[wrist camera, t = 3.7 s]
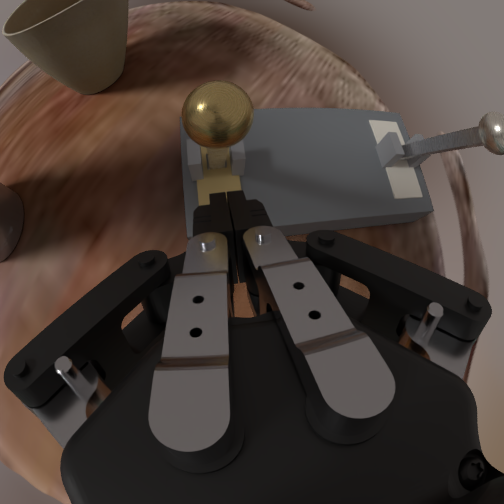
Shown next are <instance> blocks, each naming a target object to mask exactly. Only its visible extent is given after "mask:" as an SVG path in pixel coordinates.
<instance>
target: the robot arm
mask: <svg viewBox="0 0 504 504" xmlns="http://www.w3.org/2000/svg"><path fill="white" fill-rule="evenodd" d="M209 200H210V204H208V205H200V206H198V207H197V208H196V209H195V210H194V211H193V237H192V238H191V239H190V240H189V242H188V244H187V250H186V252H184V253H183V254H181V255H178V256H176V257H173V258H170V259H168V258H167V255H166V254H165V253H164V252H162V251H158V250H149V251H145V252H142V253H139V254H138V255H136V256H134V257H133V258H132V259H130V260H129V261H128V262H126V263H125V264H124V265H122V266H121V267H120V268H119V269H117V270H116V271H115V272H113V273H112V274H111V275H110V276H108V277H107V278H106V279H104V280H103V281H102V282H101V283H99V284H98V285H97V286H96V287H94V288H93V289H92V290H91V291H89V292H88V293H87V294H86V295H84V296H83V297H82V298H81V299H79V300H78V301H77V302H76V303H75V304H73V305H72V306H71V307H70V308H69V309H67V310H66V311H65V312H64V313H63V314H61V315H60V316H59V317H58V318H57V319H55V320H54V321H53V322H52V323H51V324H50V325H49V326H47V327H46V328H45V329H44V330H43V331H42V332H40V333H39V334H38V335H37V336H36V337H35V338H34V339H33V340H31V341H30V342H29V343H28V344H27V345H26V346H25V347H24V348H23V349H22V350H20V351H19V352H18V353H17V354H16V355H15V356H14V357H13V358H12V359H11V360H10V361H9V363H8V364H7V366H6V368H5V372H4V382H5V384H6V386H7V387H8V388H9V389H10V390H11V391H12V392H13V393H14V394H15V395H16V396H17V397H18V398H19V399H20V400H21V402H22V403H23V404H24V405H25V406H26V407H27V408H28V409H29V410H30V411H31V412H32V413H33V414H35V415H36V416H37V417H38V418H39V419H40V420H41V422H42V423H43V424H44V426H45V427H46V428H47V429H48V431H49V432H50V433H51V434H52V436H53V437H54V438H55V439H56V440H57V442H58V443H59V444H60V445H61V446H62V448H63V449H64V450H63V453H62V457H61V465H60V470H61V478H62V482H63V485H64V487H65V490H66V492H67V494H68V496H69V499H70V501H71V503H72V504H504V473H502V472H500V471H498V470H497V469H495V468H494V467H493V466H491V465H490V464H489V462H488V461H487V460H486V459H485V457H484V455H483V453H482V450H481V446H480V441H479V435H478V426H477V406H476V402H475V398H474V396H473V393H472V392H471V390H470V388H469V387H468V385H467V384H466V383H465V382H464V381H463V380H462V379H463V376H464V373H465V369H466V366H467V363H468V359H469V356H470V352H471V348H472V346H473V344H474V343H475V341H476V340H477V338H478V336H479V335H480V333H481V332H482V330H483V328H484V327H485V325H486V324H487V322H488V320H489V318H490V317H491V314H492V309H491V306H490V304H489V302H488V301H487V299H486V298H485V297H483V296H482V295H481V294H479V293H478V292H476V291H473V290H471V289H469V288H467V287H465V286H463V285H460V284H458V283H456V282H454V281H452V280H449V279H447V278H445V277H443V276H441V275H438V274H436V273H434V272H432V271H429V270H427V269H425V268H423V267H420V266H418V265H416V264H413V263H411V262H409V261H406V260H404V259H402V258H399V257H397V256H394V255H392V254H390V253H387V252H385V251H382V250H380V249H377V248H375V247H373V246H370V245H368V244H365V243H363V242H360V241H358V240H355V239H353V238H350V237H347V236H345V235H342V234H340V233H337V232H334V231H330V230H317V231H313V232H311V233H310V234H309V235H308V236H307V238H306V242H299V241H291V240H287V239H286V238H285V237H284V235H283V233H282V232H281V231H280V230H279V229H277V228H274V227H273V225H272V223H271V221H270V218H269V216H268V215H267V212H266V210H265V207H264V205H263V203H261V202H260V201H258V200H257V199H252V200H246V197H245V194H244V192H243V190H236V191H227V198H226V193H225V192H219V193H211V194H209ZM23 219H24V209H23V204H22V201H21V199H20V197H19V196H18V194H17V193H15V192H14V191H12V190H11V189H9V188H8V187H6V186H5V185H3V184H2V183H0V262H1V261H3V260H4V259H6V258H7V257H8V256H9V255H10V254H11V252H12V251H13V249H14V248H15V246H16V244H17V242H18V240H19V237H20V234H21V231H22V227H23ZM236 266H237V267H236ZM237 271H238V276H239V281H240V283H243V282H246V285H247V296H248V300H249V303H250V306H251V309H252V312H253V315H254V317H252V318H240V317H235V311H234V296H233V293H234V284H236V283H238V277H237ZM341 274H343V275H345V276H347V277H349V278H351V279H354V280H356V281H358V282H360V283H362V284H364V285H365V286H366V287H367V288H368V289H369V291H370V298H369V299H367V298H365V297H363V296H361V295H359V294H357V293H355V292H353V291H351V290H348V289H346V288H344V287H342V286H340V285H339V284H340V279H341ZM140 302H141V304H142V306H143V309H144V310H143V311H142V312H141V313H140V314H139V315H138V316H137V317H136V318H134V319H133V320H132V321H131V322H130V323H129V324H128V325H127V326H126V327H125V328H124V329H123V330H122V329H121V324H122V321H123V319H124V317H125V316H126V315H127V314H128V313H129V312H130V311H131V310H133V309H134V308H135V307H136V306H137V305H138V304H139V303H140Z"/></svg>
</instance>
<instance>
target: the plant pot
mask: <svg viewBox="0 0 504 504" xmlns="http://www.w3.org/2000/svg"><path fill="white" fill-rule="evenodd" d="M127 30H128V0H25V1H24V2H23V3H22V4H21V5H19V7H17V9H16V10H15V11H14V12H13V13H12V14H11V15H10V16H9V18H8V19H7V21H6V22H5V24H4V26H3V29H2V33H3V35H4V36H5V37H6V38H7V39H8V40H9V41H10V42H11V43H12V44H13V45H14V46H15V47H16V48H17V49H18V50H19V51H20V52H22V53H23V54H24V55H25V56H26V57H27V58H28V59H29V60H30V61H32V62H33V63H34V64H35V65H36V66H38V67H39V68H40V69H42V70H43V71H44V72H46V73H47V74H48V75H50V76H51V77H53V78H54V79H56V80H57V81H59V82H61V83H62V84H64V85H66V86H67V87H69V88H71V89H73V90H75V91H76V92H79V93H81V94H85V95H89V94H94V93H97V92H100V91H102V90H104V89H106V88H107V87H109V86H110V85H112V84H113V83H114V82H115V81H116V80H117V79H118V78H119V76H120V75H121V73H122V71H123V68H124V61H125V53H126V44H127Z"/></svg>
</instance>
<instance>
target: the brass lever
mask: <svg viewBox="0 0 504 504" xmlns="http://www.w3.org/2000/svg"><path fill="white" fill-rule="evenodd" d="M253 120H254V108H253V104H252V101H251V99H250V97H249V96H248V94H247V93H246V92H245V91H244V90H243V89H242V88H241V87H239V86H238V85H236V84H234V83H231V82H228V81H221V80H217V81H210V82H206V83H204V84H202V85H200V86H198V87H197V88H195V89H194V90H193V91H192V92H191V93H190V94H189V95H188V97H187V98H186V100H185V102H184V105H183V108H182V124H183V127H184V129H185V132H186V133H187V135H188V136H189V137H190V138H191V139H192V140H193V141H194V142H195V143H197V144H198V145H200V146H202V147H205V148H207V152H208V153H206V160H207V169H208V170H211V169H219V168H227V162H226V157H227V152H228V148H229V147H231V146H234V145H236V144H237V143H239V142H240V141H241V140H243V138H244V137H245V136H246V135H247V134H248V133H249V131H250V129H251V127H252V124H253Z"/></svg>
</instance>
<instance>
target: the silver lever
mask: <svg viewBox="0 0 504 504" xmlns="http://www.w3.org/2000/svg"><path fill="white" fill-rule="evenodd" d="M477 146H484V147H485V148H486V149H487V150H489V151H490V152H491V153H493V154H496V155H504V115H503V114H501V113H498V112H489V113H487V114H485V115H484V116H483V117H482V118H481V120H480V122H479V126H478V127H473V128H469V129H464V130H460V131H456V132H452V133H448V134H443V135H439V136H435V137H431V138H427V139H424V140H420V141H416V142H412V143H409V144H405V145H402V148H403V151H404V153H405V155H404V156H402V157H401V158H400V159H399V160H409V158H414V157H419V156H425V155H430V154H435V153H441V152H447V151H453V150H459V149H465V148H471V147H477Z"/></svg>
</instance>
